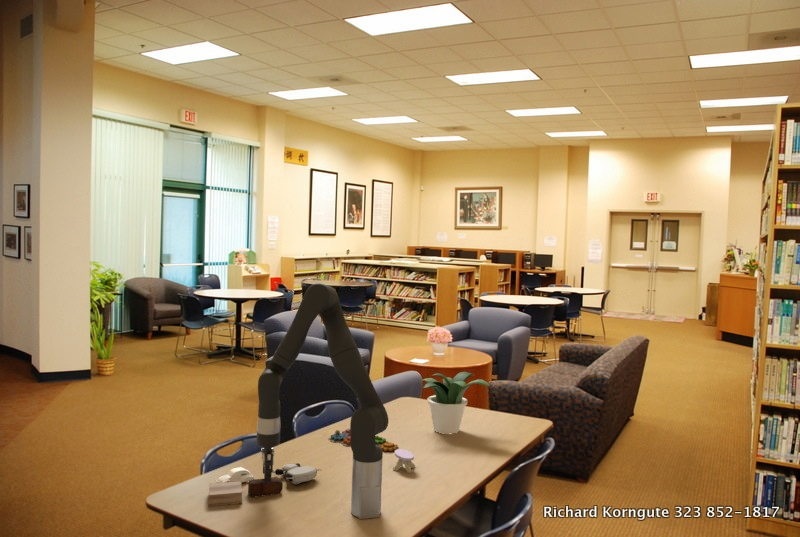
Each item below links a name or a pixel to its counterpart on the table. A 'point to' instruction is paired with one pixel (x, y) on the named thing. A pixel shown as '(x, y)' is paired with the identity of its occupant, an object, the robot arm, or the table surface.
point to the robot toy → (297, 473)
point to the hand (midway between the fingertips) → (266, 478)
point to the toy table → (404, 459)
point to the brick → (264, 487)
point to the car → (236, 476)
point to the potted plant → (449, 401)
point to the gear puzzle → (345, 440)
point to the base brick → (225, 493)
